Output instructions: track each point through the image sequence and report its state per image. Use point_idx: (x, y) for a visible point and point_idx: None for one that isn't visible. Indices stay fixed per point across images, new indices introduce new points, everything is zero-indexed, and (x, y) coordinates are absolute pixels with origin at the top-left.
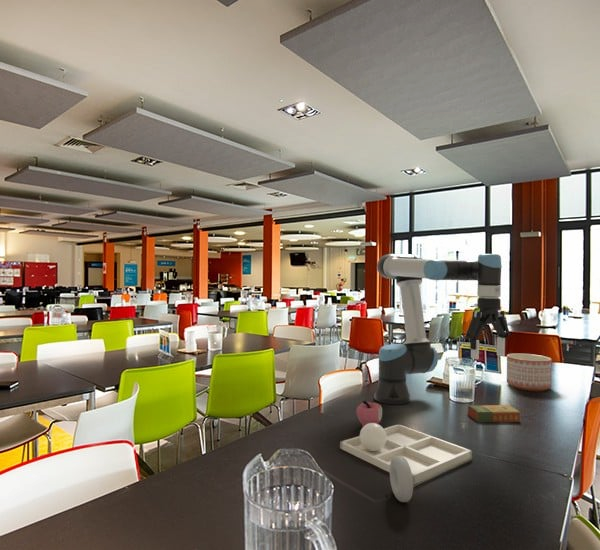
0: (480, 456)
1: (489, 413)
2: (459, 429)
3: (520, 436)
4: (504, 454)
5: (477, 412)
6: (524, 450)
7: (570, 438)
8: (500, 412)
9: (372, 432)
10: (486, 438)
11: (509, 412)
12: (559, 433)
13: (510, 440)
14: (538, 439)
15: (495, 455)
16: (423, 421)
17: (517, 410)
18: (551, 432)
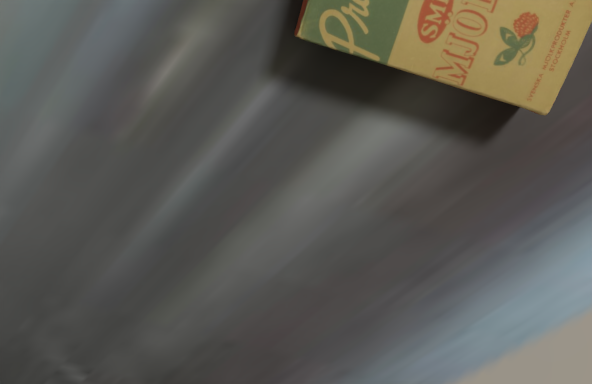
0: (31, 361)
1: (367, 59)
2: (116, 108)
3: (341, 260)
4: (133, 371)
5: (296, 35)
6: (235, 365)
7: (523, 330)
8: (435, 80)
9: None
10: (172, 237)
11: (487, 96)
12: (540, 280)
13: (260, 282)
14: (386, 304)
15: (93, 369)
16: None
17: (555, 96)
18: (519, 262)
